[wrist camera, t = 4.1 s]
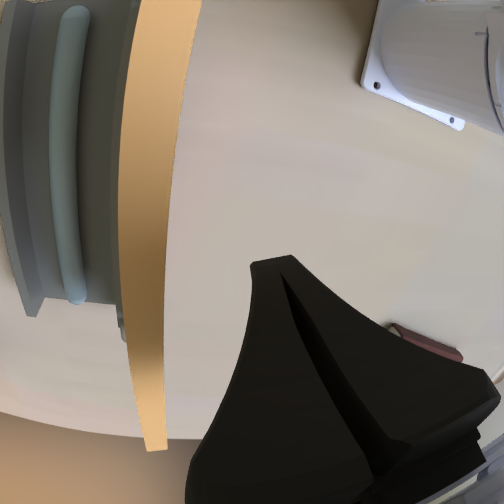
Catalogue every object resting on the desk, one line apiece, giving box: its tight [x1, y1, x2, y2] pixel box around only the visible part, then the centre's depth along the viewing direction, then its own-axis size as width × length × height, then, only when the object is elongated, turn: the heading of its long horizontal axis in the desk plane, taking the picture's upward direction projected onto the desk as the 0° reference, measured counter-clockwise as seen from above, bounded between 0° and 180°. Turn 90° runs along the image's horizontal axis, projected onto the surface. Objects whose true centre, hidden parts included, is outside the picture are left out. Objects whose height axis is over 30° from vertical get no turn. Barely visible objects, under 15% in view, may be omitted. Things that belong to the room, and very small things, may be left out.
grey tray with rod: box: [0, 0, 141, 342], centre depth 14 cm, size 9×21×4 cm, turn 168°
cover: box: [118, 0, 202, 451], centre depth 11 cm, size 9×18×1 cm
